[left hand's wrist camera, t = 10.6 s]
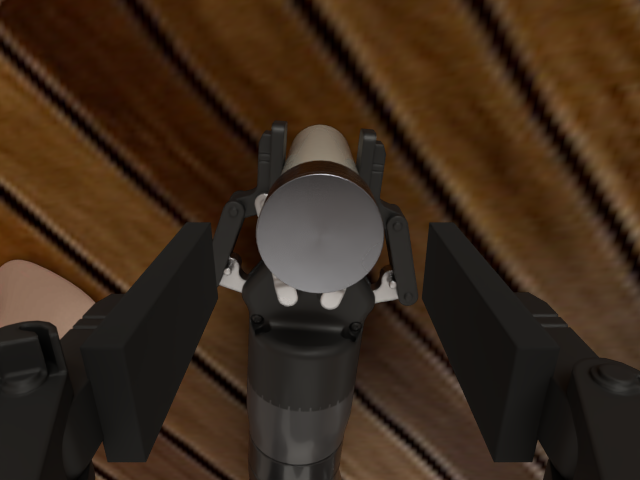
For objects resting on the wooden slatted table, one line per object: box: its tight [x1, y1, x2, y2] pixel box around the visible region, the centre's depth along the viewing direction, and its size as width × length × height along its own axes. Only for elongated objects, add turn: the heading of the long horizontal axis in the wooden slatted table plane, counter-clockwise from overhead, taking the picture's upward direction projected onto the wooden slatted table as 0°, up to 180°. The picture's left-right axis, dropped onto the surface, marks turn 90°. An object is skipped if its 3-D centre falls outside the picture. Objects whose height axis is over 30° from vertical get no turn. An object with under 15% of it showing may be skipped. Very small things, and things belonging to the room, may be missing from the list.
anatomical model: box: [0, 260, 95, 339], centre depth 34 cm, size 13×4×12 cm
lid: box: [256, 160, 384, 293], centre depth 17 cm, size 5×5×2 cm
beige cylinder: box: [281, 125, 360, 176], centre depth 24 cm, size 4×4×16 cm
